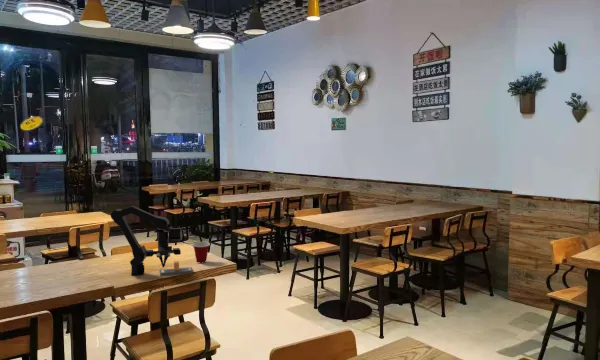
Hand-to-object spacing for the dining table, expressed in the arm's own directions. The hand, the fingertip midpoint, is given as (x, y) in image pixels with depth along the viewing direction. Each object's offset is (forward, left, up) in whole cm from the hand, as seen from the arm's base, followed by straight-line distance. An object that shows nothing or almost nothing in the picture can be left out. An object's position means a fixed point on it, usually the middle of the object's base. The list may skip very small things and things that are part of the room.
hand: (163, 267), depth 252 cm
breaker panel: (+7, 0, -4) cm, 8 cm away
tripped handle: (+7, 0, -2) cm, 7 cm away
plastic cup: (+24, +20, -4) cm, 32 cm away
